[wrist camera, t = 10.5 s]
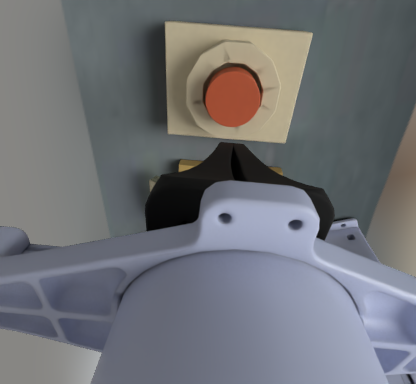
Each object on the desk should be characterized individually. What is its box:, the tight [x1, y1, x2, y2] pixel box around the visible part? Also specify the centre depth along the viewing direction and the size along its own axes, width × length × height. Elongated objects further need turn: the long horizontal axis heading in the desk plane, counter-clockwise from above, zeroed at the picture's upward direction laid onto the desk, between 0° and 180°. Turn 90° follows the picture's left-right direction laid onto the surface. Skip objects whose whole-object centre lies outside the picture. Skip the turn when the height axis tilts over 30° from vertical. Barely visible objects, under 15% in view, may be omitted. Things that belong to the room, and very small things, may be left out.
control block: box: [165, 21, 313, 143], centre depth 20 cm, size 10×8×4 cm
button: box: [205, 67, 260, 127], centre depth 18 cm, size 4×4×2 cm
